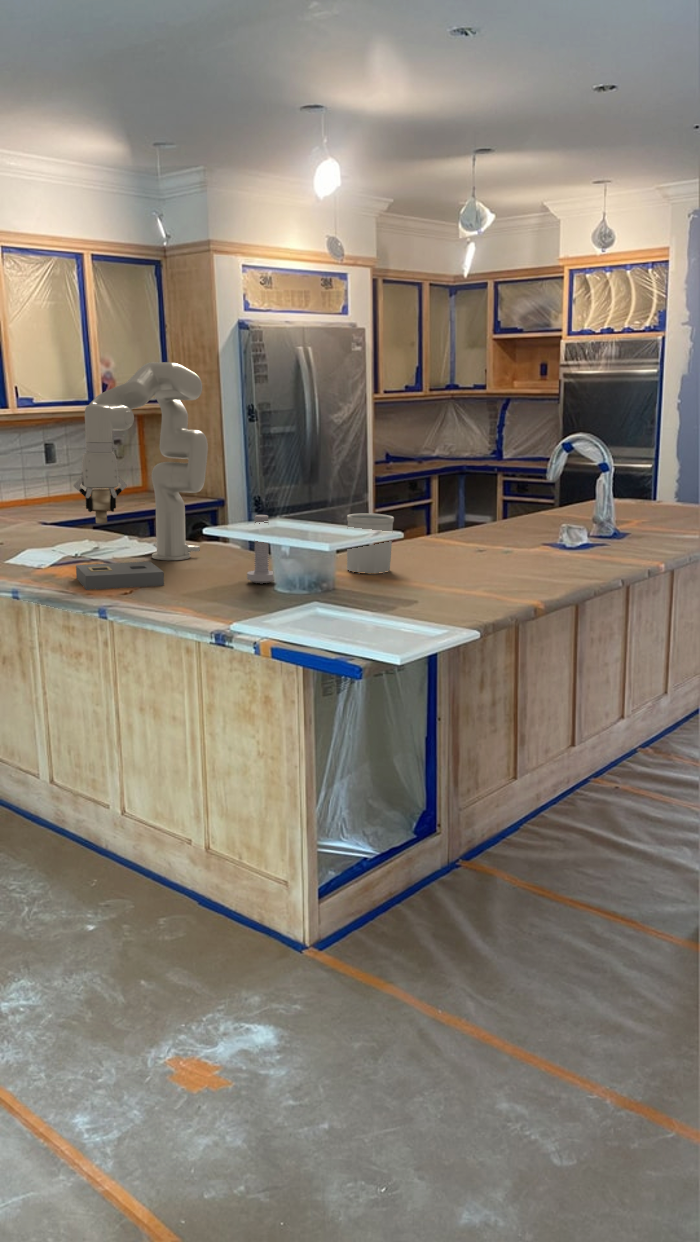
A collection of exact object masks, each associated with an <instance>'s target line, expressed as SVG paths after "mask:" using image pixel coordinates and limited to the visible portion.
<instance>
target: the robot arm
mask: <svg viewBox="0 0 700 1242" xmlns="http://www.w3.org/2000/svg"><path fill="white" fill-rule="evenodd" d="M202 383H203V382H202V380H201V377H200V376H199V375H198V374H197V373H195V371H192V370H191V369H189V368H187V367H185V366H184V365H182V364H179V363H176V362H169V361H168V362H167V361H165V362H163V361H162V362H159V361H157V362H156V361H152V362H151V361H150V362H147V363H145V364H143V365H142V366H141V367H140V368H139V369H138V370H137V371H136V372H135V373H133V375H132V376H131V377H130V378H129V379H128V380H127V381H126V382H124V383H122V384H119V385H116V386H115V387H112V388H110V389H108V390H105V391H104V392H101V393H100V394H98V395H97V396H95V398H93V400H92V401H91V402H89V404H88V405H86V407H85V408H84V422H85V423H84V427H85V430H84V431H85V452H83V453H82V459H81V460H82V461H81V476H80V477H79V478H77V480H76V481H75V482H74V484H73V488H75V489H76V490H77V491H78V492H79V493H80V494H81V495H82V496H83V497H84V498H85V509H86V510H87V512H88V513H92V512H93V511H92V499H91V492H92V489H109V490H110V495H111V511H110V512H115V509H116V508H117V498H118V496H119V495H120V494H121V493H122V492H123V491H124V490H125V489H126V488H127V486H128V485H127V483H126V482H125V481H124V480H123V479H122V478H121V477H120V476H119V470H118V469H119V468H118V463H117V462H118V461H117V457H116V453H113V452H114V451H116V450H118V449H119V448H118V444H115V443H113V431H118V432H119V431H122V432H123V431H127V430H129V429H130V428H132V426H133V424H134V422H135V415H134V411H133V409H134V410H135V409H138V408H141V407H144V406H145V405H146V404H148V402H149V401H150V400H151V399H152V398H153V397H154V398H155V399H156V401H157V403H158V405H159V408H160V410H161V411H160V412H161V423H160V424H161V425H160V437H159V451H160V454H161V455H162V456H163V457H165V458H168V459H180V460H181V459H182V460H188V461H187V462H177V461H176V462H174V461H164V462H163V461H162V462H159V463H157V464H156V465H154V466H153V468H152V471H151V482H152V486H153V490H154V501H155V529H156V530H155V533H156V540H155V542H156V551H155V552H154V553H152V554H151V558H152V559H154V560H159V561H183V560H187V559H191V552H201V551H200V550H201V547H200V545H190V544H188V543H186V507H185V506H186V505H185V501H184V499H183V498H182V496H181V494H180V493H189V494H190V493H191V494H195V493H200V492H201V490H202V489H203V488H204V485H205V482H206V474H207V464H208V462H207V461H208V451H209V445H208V438H207V437H206V434H205V433H204V432H203V431H201V430H198V429H188V427H189V426H188V425H189V424H188V423H189V413H188V411H187V408H186V407H185V405H184V404H183V402H182V401H195V400H197V399H199V397H200V396H201V395H202V393H203V384H202ZM81 485H82V486H81ZM83 487H85V489H84V488H83ZM115 488H116V489H115Z"/></svg>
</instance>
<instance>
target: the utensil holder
mask: <svg viewBox="0 0 700 1242" xmlns="http://www.w3.org/2000/svg"><path fill="white" fill-rule="evenodd" d="M346 520H347V528H348V527H354V528H362V529H372V530H382V531H392V532H393V530H394V529H393V527H394V522H395V517H394V516H392V515H387V514H381V513H369V512H368V513H365V512H364V513H352V514H350V513H349V514H347V515H346ZM392 544H393V540H392V541H389V542H384V543H379V544H375V545H370V546H363V547H358V548H352V549H347V548H346V569H347V571H348V570H349V571H348V572H350V571H355V572H365V573H379V572H385V571H389V570H391V560H392V559H391V558H392ZM389 572H390V571H389Z"/></svg>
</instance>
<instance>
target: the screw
mask: <svg viewBox="0 0 700 1242" xmlns="http://www.w3.org/2000/svg"><path fill="white" fill-rule="evenodd" d="M253 521H254V524H255V523H256V522H264V521H268V522H264V523H268V524H270V522H269V515H267V514H257V515H254V520H253ZM259 524H260V523H259ZM269 547H270V546H269V543H264V542H258V541H255V540H254V570H250V571H247V572H246V575H247V576H246V580H249V581H250V582H252V583H254V584H257V583H260V584H259V585H264V584H263V583H266V584H268V583H271V582H273V581H274V580H273V570H269V566H270V565H269V561H270V559H269V558H270V557H269Z"/></svg>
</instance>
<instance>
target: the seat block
mask: <svg viewBox="0 0 700 1242" xmlns="http://www.w3.org/2000/svg"><path fill="white" fill-rule="evenodd" d="M75 573H76V575H75V576H76V579H77V581H78V582H79V583H80V584H81V586H82V587H83V586H84V587H83V588H84V590H86V591H91V590H90V589H96V590H107V589H108V590H110V589H111V588H113V589H125V588H127V589H129V588H141V587H143V588H144V587H145V588H146V587H158V586H159V587H160V586H165V578H164V577H165V575H164V573H165V572H164V571H163V570H162V569H161V568H159V567H158V566H157V565H155V564H154V563H152V562H151V561H133V562H132V561H131V562H129V561H128V562H111V563H110V562H109V563H92V564H76V565H75Z"/></svg>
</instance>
